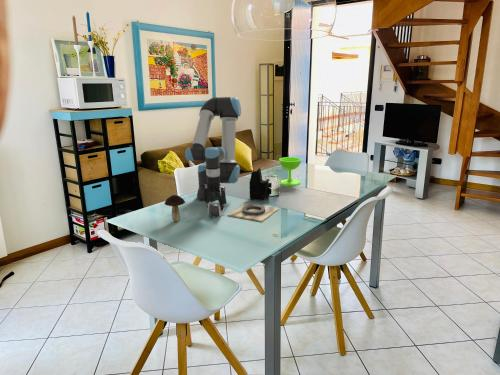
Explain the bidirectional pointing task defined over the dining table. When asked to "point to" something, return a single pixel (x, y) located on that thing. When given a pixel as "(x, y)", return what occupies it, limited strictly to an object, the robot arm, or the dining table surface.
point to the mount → (253, 212)
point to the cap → (214, 210)
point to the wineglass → (290, 164)
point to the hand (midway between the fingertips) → (215, 214)
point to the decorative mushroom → (175, 206)
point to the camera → (259, 186)
